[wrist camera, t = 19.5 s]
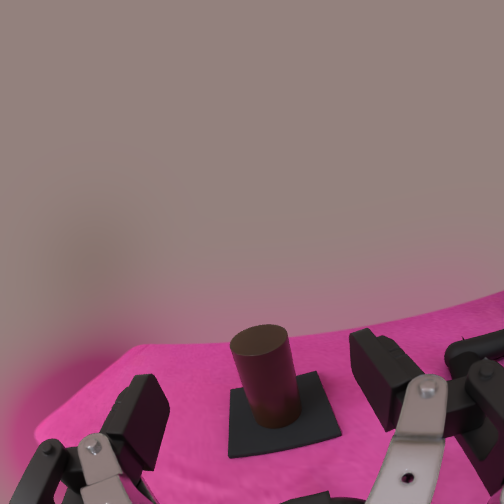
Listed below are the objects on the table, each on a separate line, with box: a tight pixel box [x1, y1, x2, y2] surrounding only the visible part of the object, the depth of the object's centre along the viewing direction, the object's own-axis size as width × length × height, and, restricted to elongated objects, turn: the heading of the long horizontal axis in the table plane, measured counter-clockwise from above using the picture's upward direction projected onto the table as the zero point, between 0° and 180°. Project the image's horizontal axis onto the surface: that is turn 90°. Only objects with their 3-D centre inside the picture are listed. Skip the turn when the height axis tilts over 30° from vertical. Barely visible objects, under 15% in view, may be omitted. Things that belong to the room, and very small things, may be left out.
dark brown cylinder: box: [230, 324, 302, 429], centre depth 22 cm, size 5×5×9 cm
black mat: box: [228, 371, 341, 458], centre depth 23 cm, size 10×10×1 cm
